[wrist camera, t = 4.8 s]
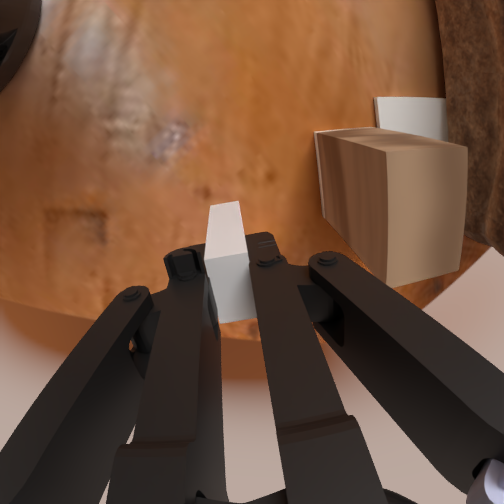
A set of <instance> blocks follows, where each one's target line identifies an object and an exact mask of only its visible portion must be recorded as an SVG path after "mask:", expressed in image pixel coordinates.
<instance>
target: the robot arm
mask: <svg viewBox="0 0 504 504" xmlns="http://www.w3.org/2000/svg"><path fill="white" fill-rule="evenodd" d="M40 10H41V0H0V91H1V90H2V89H3V88H4V87H5V86H6V84H7V83H8V82H9V81H10V79H11V78H12V77H13V75H14V74H15V72H16V71H17V69H18V67H19V66H20V64H21V62H22V61H23V59H24V57H25V55H26V53H27V51H28V49H29V47H30V44H31V42H32V39H33V37H34V34H35V31H36V28H37V25H38V21H39V16H40ZM163 259H164V263H165V266H166V269H167V273H168V276H169V283H168V286H167V289H165V290H162V291H160V292H157V293H154V294H151V295H150V292H149V289H148V288H147V287H145V286H132V287H129V288H126V289H125V290H124V291H122V292H120V293H119V294H118V295H117V296H116V297H115V298H114V300H113V301H112V302H111V303H110V304H109V306H108V307H107V308H106V309H105V310H104V312H103V313H102V314H101V315H100V316H99V318H98V319H97V320H96V321H95V323H94V324H93V325H92V326H91V328H90V329H89V330H88V331H87V333H86V334H85V335H84V336H83V338H82V339H81V340H80V341H79V343H78V344H77V345H76V347H75V348H74V349H73V350H72V352H71V353H70V354H69V356H68V357H67V358H66V359H65V361H64V362H63V364H62V365H61V366H60V367H59V369H58V370H57V371H56V373H55V374H54V375H53V377H52V378H51V379H50V381H49V382H48V384H47V385H46V386H45V388H44V389H43V390H42V392H41V393H40V394H39V396H38V397H37V399H36V400H35V401H34V403H33V404H32V406H31V407H30V409H29V410H28V411H27V413H26V414H25V416H24V417H23V419H22V420H21V422H20V423H19V425H18V426H17V428H16V429H15V430H14V432H13V433H12V435H11V437H10V438H9V440H8V441H7V443H6V444H5V446H4V447H3V449H2V450H1V452H0V504H99V502H100V500H101V497H102V495H103V493H104V491H105V488H106V486H107V484H108V482H109V480H110V483H109V488H108V495H107V500H106V504H417V503H416V502H414V501H411V500H410V499H408V498H406V497H404V496H402V495H400V494H398V493H395V492H393V491H390V490H387V489H383V488H382V485H381V482H380V480H379V477H378V474H377V471H376V469H375V466H374V463H373V461H372V458H371V455H370V453H369V450H368V447H367V445H366V442H365V439H364V437H363V434H362V431H361V429H360V426H359V424H358V422H357V420H356V418H355V417H354V416H353V415H349V416H348V415H347V413H346V411H345V409H344V406H343V404H342V401H341V398H340V396H339V393H338V390H337V388H336V385H335V382H334V380H333V377H332V374H331V372H330V369H329V366H328V364H327V361H326V359H325V356H324V353H323V351H322V348H321V346H320V343H319V340H318V338H317V335H316V333H315V330H314V328H315V329H316V331H317V332H318V333H319V334H320V335H321V336H322V338H323V339H324V340H325V341H326V342H327V343H328V345H329V346H330V347H331V348H332V349H333V350H334V351H335V353H336V354H337V355H338V356H339V357H340V358H341V359H342V361H343V362H344V363H345V364H346V365H347V367H348V368H349V369H350V370H351V371H352V372H353V373H354V375H355V376H356V377H357V378H358V379H359V381H360V382H361V383H362V384H363V385H364V386H365V387H366V389H367V390H368V391H369V392H370V393H371V394H372V396H373V397H374V398H375V399H376V400H377V401H378V403H379V404H380V405H381V406H382V407H383V408H384V409H385V411H386V412H387V413H388V414H389V415H390V416H391V418H392V419H393V420H394V421H395V422H396V423H397V425H398V426H399V427H400V428H401V429H402V430H403V431H404V432H405V434H406V435H407V436H408V437H409V438H410V440H411V441H412V442H413V443H414V444H415V445H416V446H417V448H418V449H419V450H420V451H421V452H422V453H423V455H424V456H425V457H426V458H427V459H428V460H429V461H430V463H431V464H432V465H433V466H434V467H435V468H436V470H438V472H439V473H440V474H441V475H442V476H444V478H445V479H446V480H447V481H449V482H450V483H451V484H452V485H454V486H455V487H456V488H458V489H459V490H460V491H461V492H463V493H465V494H467V500H466V504H504V373H503V372H502V371H500V370H499V369H498V368H497V367H495V366H494V365H493V364H492V363H490V362H489V361H488V360H486V359H485V358H484V357H483V356H481V355H480V354H479V353H478V352H476V351H475V350H474V349H473V348H471V347H470V346H469V345H467V344H466V343H465V342H464V341H462V340H461V339H460V338H458V337H457V336H456V335H454V334H453V333H452V332H450V331H449V330H448V329H446V328H445V327H444V326H442V325H441V324H440V323H438V322H437V321H436V320H434V319H433V318H432V317H430V316H429V315H428V314H426V313H425V312H423V311H422V310H421V309H420V308H418V307H417V306H415V305H414V304H413V303H411V302H410V301H409V300H407V299H406V298H404V297H403V296H402V295H400V294H399V293H397V292H396V291H395V290H393V289H392V288H390V287H389V286H388V285H386V284H385V283H383V282H382V281H381V280H379V279H378V278H376V277H375V276H373V275H372V274H371V273H369V272H368V271H366V270H365V269H363V268H362V267H361V266H359V265H358V264H356V263H355V262H353V261H352V260H350V259H349V258H347V257H346V256H345V255H343V254H340V253H337V252H333V251H328V252H327V251H325V252H322V253H318V254H316V255H313V256H312V257H311V258H310V259H309V262H308V265H309V266H296V265H291V264H288V263H287V260H286V258H285V257H284V256H282V255H281V254H280V252H279V249H278V247H277V244H276V241H275V239H274V236H273V235H272V234H270V233H268V232H261V233H255V234H249V235H244V229H243V223H242V218H241V212H240V206H239V201H234V202H228V203H223V204H217V205H212V206H210V213H209V221H208V229H207V237H206V243H204V244H199V245H193V246H189V247H185V248H180V249H176V250H174V251H172V252H170V253H168V254H167V255H166V256H165V257H164V258H163ZM218 318H219V322H220V324H221V323H228V322H234V321H240V320H246V319H251V318H257V319H258V325H259V331H260V337H261V343H262V349H263V355H264V361H265V367H266V373H267V379H268V385H269V390H270V396H271V402H272V407H273V414H274V420H275V426H276V434H277V439H278V446H279V452H280V457H281V463H282V469H283V475H284V480H285V486H286V488H285V489H283V490H280V491H278V492H275V493H272V494H270V495H267V496H264V497H262V498H259V499H256V500H253V501H250V502H247V503H232V502H229V499H228V496H227V491H226V478H225V459H224V439H223V438H224V437H223V411H222V379H221V332H220V328H219V324H218ZM312 322H313V325H312ZM313 326H314V328H313ZM130 340H131V341H132V344H133V348H132V349H131V350H129V343H130ZM135 424H136V425H135ZM134 426H135V430H134V436H133V440H132V442H131V443H130V444H126V443H127V440H128V438H129V436H130V434H131V432H132V430H133V428H134Z"/></svg>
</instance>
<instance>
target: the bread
mask: <svg viewBox="0 0 504 504" xmlns="http://www.w3.org/2000/svg"><path fill="white" fill-rule="evenodd" d="M435 3H436V8H437V14H438V21H439V30H440V38H441V45H442V52H443V65H444V78H445V87H446V111H447V123H448V142H449V143H453V144H457V145H461V146H465V147H468V174H467V198H466V213H465V225H464V235H465V236H467V237H469V238H471V239H473V240H475V241H477V242H479V243H482V244H485V245H488V246H492V247H494V248H495V249H496V250H497V251H498V252H499V253H500V254H501V255H503V256H504V0H435Z"/></svg>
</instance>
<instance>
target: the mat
mask: <svg viewBox="0 0 504 504" xmlns="http://www.w3.org/2000/svg"><path fill="white" fill-rule="evenodd" d="M374 104H375V113H376V123H377V128H381V129H387V130H392V131H398V132H403V133H408V134H413V135H418V136H423V137H428V138H432V139H437V140H441V141H445V142H448V123H447V111H446V98H428V97H374Z"/></svg>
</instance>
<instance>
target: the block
mask: <svg viewBox="0 0 504 504" xmlns="http://www.w3.org/2000/svg"><path fill="white" fill-rule="evenodd" d="M314 139H315V147H316V156H317V165H318V174H319V184H320V194H321V206H322V216H323V217H324V218H325V219H326V220H327V221H328V223H329V224H330V225H331V226H332V227H333V228H334V229H335V230H336V232H337V233H338V234H339V235H340V236H341V237H342V238H343V239H344V241H345V242H346V243H347V244H348V245H349V246H350V248H351V249H352V250H353V251H354V252H355V253H356V254H357V256H358V257H359V258H360V259H361V260H362V261H363V263H364V264H365V265H366V266H367V267H368V269H369V270H370V271H371V272H372V273H373V275H374V276H375V277H376V278H378V279H379V280H381V281H382V282H383V283H385V284H386V285H388V286H389V287H390V288H394V287H398V286H402V285H406V284H410V283H414V282H418V281H422V280H425V279H429V278H433V277H437V276H440V275H444V274H448V273H451V272H455V271H458V270H459V265H460V259H461V251H462V243H463V235H464V225H465V213H466V198H467V174H468V147H465V146H461V145H457V144H453V143H449V142H445V141H441V140H437V139H432V138H428V137H423V136H418V135H413V134H408V133H403V132H398V131H392V130H387V129H381V128H375V127H363V128H350V129H338V130H328V131H318V132H314Z"/></svg>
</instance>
